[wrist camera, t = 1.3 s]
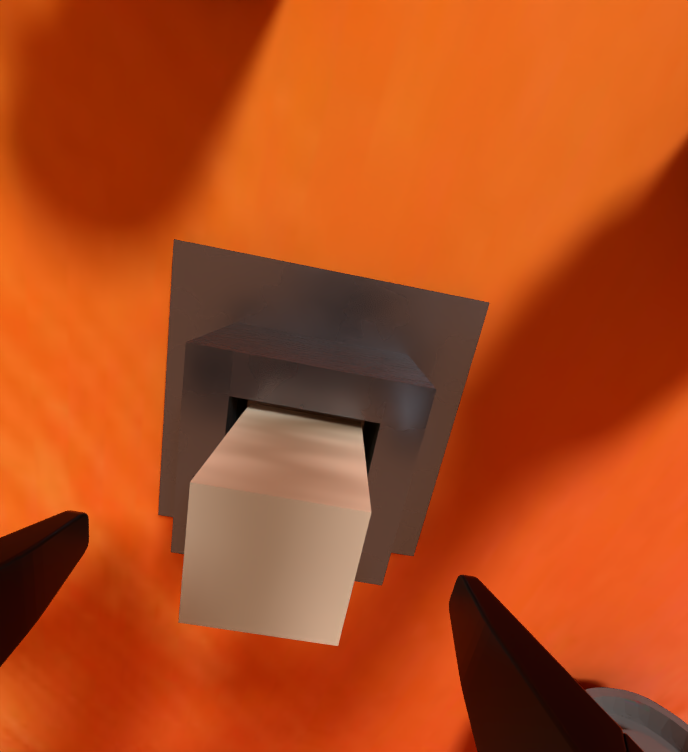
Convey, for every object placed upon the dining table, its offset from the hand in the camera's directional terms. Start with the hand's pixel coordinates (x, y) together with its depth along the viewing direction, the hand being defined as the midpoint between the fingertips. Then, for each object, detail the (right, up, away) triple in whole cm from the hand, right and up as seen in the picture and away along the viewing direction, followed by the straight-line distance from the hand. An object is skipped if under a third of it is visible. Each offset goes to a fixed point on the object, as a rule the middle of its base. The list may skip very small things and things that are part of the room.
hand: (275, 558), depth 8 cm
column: (0, +2, +8) cm, 8 cm away
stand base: (0, +3, +9) cm, 10 cm away
